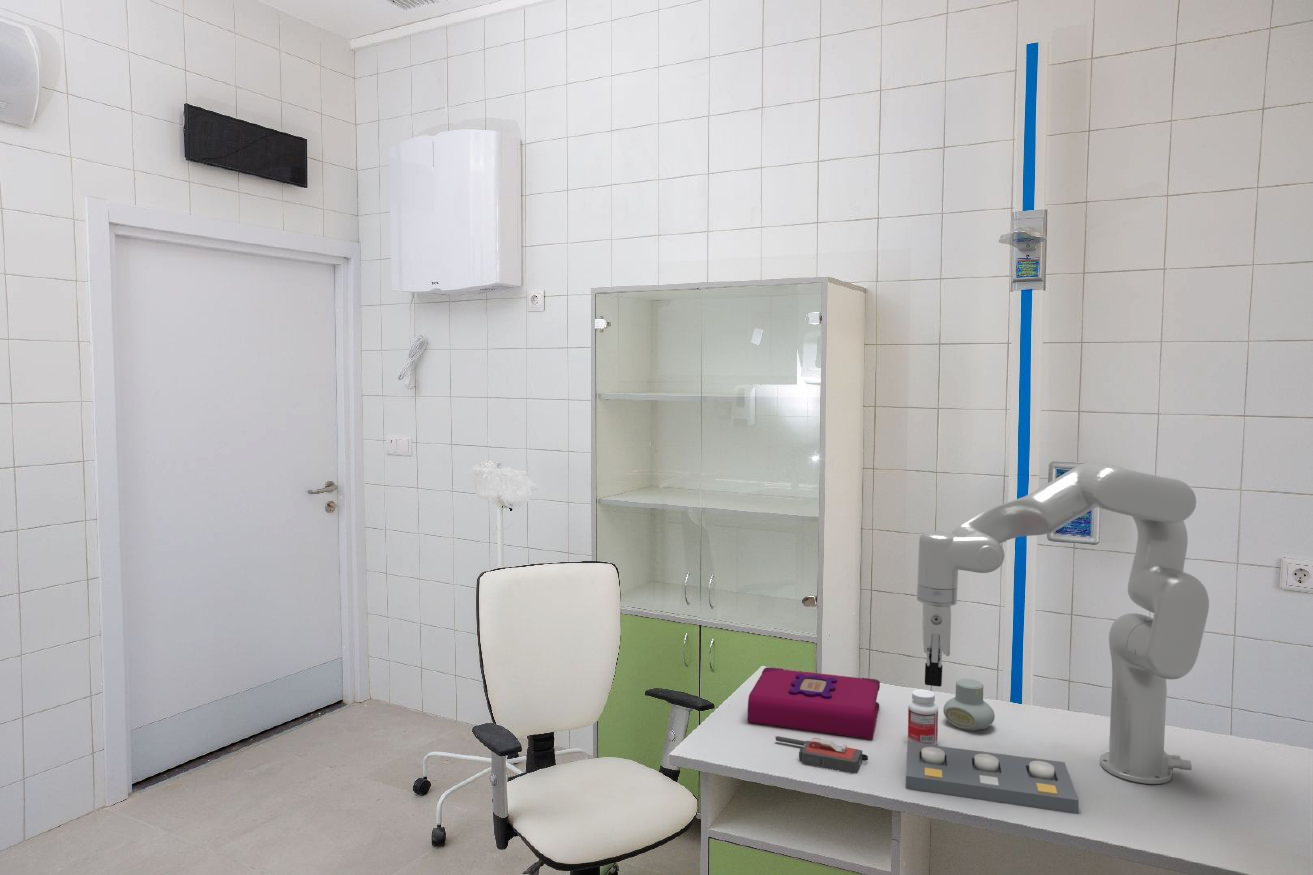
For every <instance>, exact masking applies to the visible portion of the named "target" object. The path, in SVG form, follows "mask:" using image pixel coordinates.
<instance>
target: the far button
mask: <svg viewBox="0 0 1313 875" xmlns="http://www.w3.org/2000/svg"><path fill="white" fill-rule="evenodd" d="M922 761H923V762H925V763H929V764H937V765H942V764H944V762H945V752H944V751H943V750H941V749H939V748H935V747H925V748H923V749H922Z"/></svg>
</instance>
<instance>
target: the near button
mask: <svg viewBox="0 0 1313 875" xmlns="http://www.w3.org/2000/svg"><path fill="white" fill-rule="evenodd" d="M1029 774H1030V775H1031V776H1032V777H1034V778H1040V779H1047V780H1052V779H1054V766H1053V765H1051V764H1049V763H1047V762H1043V761H1032V762H1030V763H1029Z"/></svg>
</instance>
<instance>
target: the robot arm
mask: <svg viewBox="0 0 1313 875" xmlns="http://www.w3.org/2000/svg"><path fill="white" fill-rule="evenodd" d="M1196 507H1197V497H1196V494H1195V492H1194V490H1193V488H1192V487H1191V486H1190V485H1188V484H1187V483H1186V482H1185V481H1183V480H1180V479H1177V478H1173V477H1172V478H1171V477H1166V476H1160V475H1156V474H1150V473H1147V472H1146V473H1145V472H1140V471H1136V470H1133V469H1128V468H1124V467H1120V466H1115V465H1110V464H1105V463H1100V462H1084V463H1081V464H1079V465H1077V466H1075V467H1073V468H1071V469H1069V470H1068V471H1066V472H1065V473H1063V474H1061V475H1060V476H1059V475H1058V477H1056V478H1054V479H1053V480H1051V481H1050V482H1049V481H1048V483H1046V484H1044V485H1043V486H1040V487H1038V489H1036V490H1034V491H1032V492H1030V493H1029V494H1026V495H1025V496H1023V497H1019V498H1017V499H1014V500H1011V501H1008V502H1006V503H1002V504H1000V505H997V506H994V507H992V508H989V509H987V510H985V511H983V512H980V513H979V514H977V515H975V516H974V517H972V518H970V519H969V520H966V521H965V522H963V523H962V524H960V525H959V526H957V527H955V529H954V530H953V531H952V532H949V531H940V530H927V531H924V532H922V533H921V535H920V537H919V542H918V544H919V545H918V562H917V563H918V565H917V567H918V568H917V591H916V601H918V602H919V603H921V604H922V642H923V652H924V653H925V654H926V662H924V663H925V666H924V685H925V686H932V687H942V683H943V664H942V662H943V661H942V658H943V657H942V656H943V655H946V657H949V656H950V655H951V630H952V606H955V605H957V600H958V582H959V581H958V580H959V578H958V577H959V571H966V572H973V573H979V574H987V573H991V572H994V571H995V572H996V570H998V569H999V568H1000V567H1001V566H1002V564H1003V563H1004V561H1005V550H1004V547H1003V546H1002V543H1003V542H1006V541H1009V540H1011V539H1012V540H1013V539H1016V538H1019V537H1027V536H1028V537H1030V536H1031V537H1032V536H1041V535H1047V534H1052V533H1054V532H1056V531H1058V530H1059V529H1061V528H1063V527H1064V526H1066V525H1068V524H1069V523H1071V522H1072V521H1074V520H1076V519H1077V518H1080V517H1082V516H1083V515H1085V514H1087V513H1088V512H1090V511H1092V510H1093V509H1096V508H1098V509H1101V510H1105V511H1109V512H1110V511H1111V512H1114V513H1117V514H1121V515H1126V516H1130V517H1132V519H1133V521H1134V523H1135V526H1136V530H1137V542H1136V547H1135V552H1134V558H1133V561H1132V565H1131V570H1130V574H1129V577H1128V583H1127V594H1128V596H1129V598H1130V600H1131V601H1132V602H1133V603H1134V604H1136V605H1137V606H1138V607H1140V608H1142V609H1144V610H1146V611H1149V612H1150V613H1153V618H1152V617H1150V616H1148V615H1146V614H1145V615H1144V614H1141V613H1133V612H1132V613H1126V614H1122V615H1121V616H1119V617H1117V619H1115V620H1114V621H1113V623H1112V624H1111V627H1110V629H1109V633H1108V646H1109V652H1110V658H1111V670H1112V671H1111V695H1110V697H1111V699H1110V722H1109V743H1108V744H1109V746H1108V747H1109V748H1108V751H1107V752H1104V753H1102V754H1101V755H1100V759H1099V764H1100V765H1101V767H1102V768H1103V769H1104V770H1106V772H1108V773H1110V774H1111V775H1114V776H1115V777H1118V778H1120V779H1123V780H1126V781H1131V782H1134V783H1139V784H1147V785H1159V784H1161V785H1162V784H1165V783H1168V782H1169V781H1171V780H1172V778H1173V771H1172V770H1173V769H1177V770H1178V769H1179V770H1180V771H1181V770H1183V771H1192V761H1191V760H1188V759H1182V758H1181V756H1180V755H1176V754H1167V752H1166V751H1165V737H1166V736H1165V735H1166V734H1165V733H1166V714H1167V712H1166V711H1167V693H1168V691H1167V689H1168V687H1167V680H1178V679H1181V678H1183V677H1185V676H1187V675H1188V674H1189V673H1190V672H1191V671H1192V670H1193V668H1194V666H1195V664H1196V662H1197V658H1198V656H1199V652H1200V649H1201V644H1202V641H1203V636H1204V632H1205V628H1206V623H1207V621H1208V620H1207V618H1208V615H1209V609H1210V599H1209V595H1208V591H1207V588H1206V587H1205V585H1204V584H1203V583H1202V582H1201V581H1200V580H1199V579H1198V578H1197V577H1195V576H1194V575H1192V574H1191V573H1190V574H1189V573H1187V572H1184V568H1185V562H1186V556H1187V550H1188V542H1189V539H1188V538H1189V536H1188V531H1187V526H1186V524H1185V521H1186V520H1187V519H1188V518H1190V517H1191V516H1192V515H1193V513H1194V511H1195V509H1196Z"/></svg>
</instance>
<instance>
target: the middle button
mask: <svg viewBox="0 0 1313 875" xmlns="http://www.w3.org/2000/svg"><path fill="white" fill-rule="evenodd" d="M998 762H999V760H998V759H997V758H996V757H994V756H992V755H989V754H977V755H975V761H974V766H975V768H976V769H978V770H981V771H988V772H997V771H998Z"/></svg>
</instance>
